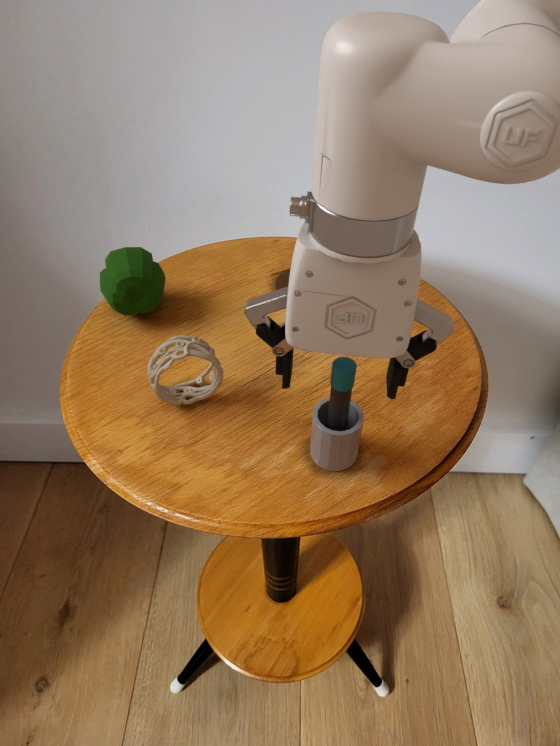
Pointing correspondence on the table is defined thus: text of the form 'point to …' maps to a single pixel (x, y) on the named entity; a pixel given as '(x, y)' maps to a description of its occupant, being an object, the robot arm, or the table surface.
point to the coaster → (282, 280)
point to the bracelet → (190, 349)
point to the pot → (335, 438)
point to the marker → (341, 392)
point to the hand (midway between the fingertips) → (338, 383)
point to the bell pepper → (132, 281)
